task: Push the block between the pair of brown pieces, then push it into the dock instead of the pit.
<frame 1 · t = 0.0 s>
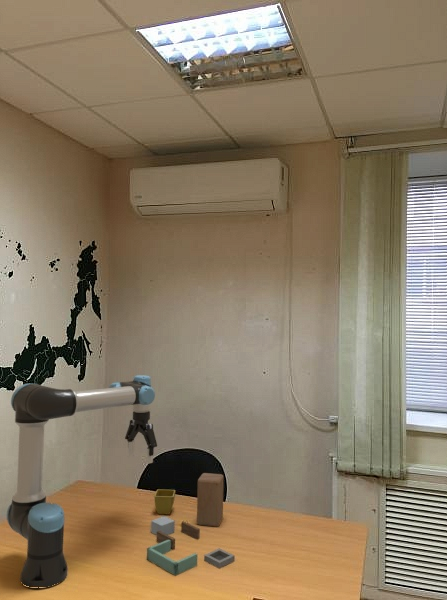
hand: (140, 459, 213), 28 cm above the table, fingers open, 13 cm apart
pair of brown pieces: (178, 540, 197), on the table
dock: (171, 562, 179), on the table
wooden block: (209, 522, 216), on the table
pit: (219, 560, 181), on the table
flower pot: (164, 512, 225), on the table
block: (162, 532, 204), on the table
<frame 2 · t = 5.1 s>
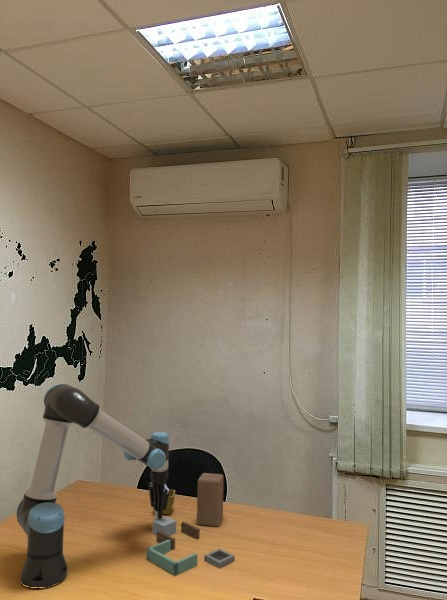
hand: (157, 525, 207), 2 cm above the table, fingers closed
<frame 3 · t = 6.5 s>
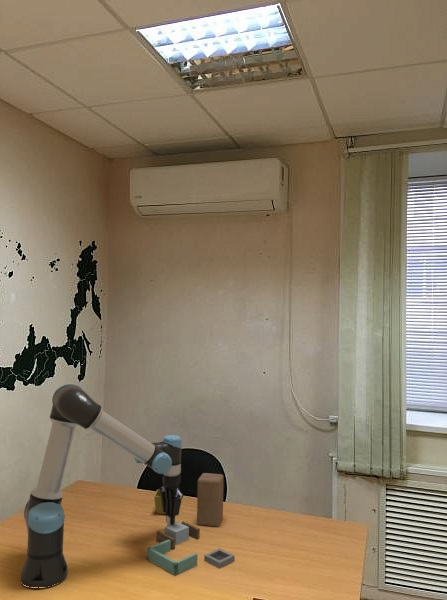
hand: (170, 531, 201), 2 cm above the table, fingers closed
block: (176, 539, 198), on the table
everything else where it was.
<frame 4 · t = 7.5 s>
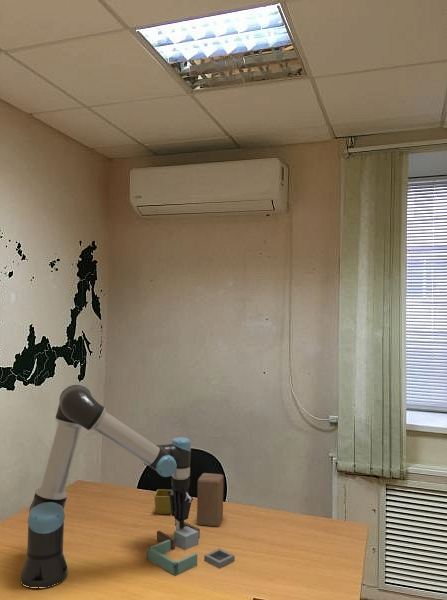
hand: (179, 535, 197), 2 cm above the table, fingers closed
block: (186, 544, 194), on the table, touching gripper
everything else where it was.
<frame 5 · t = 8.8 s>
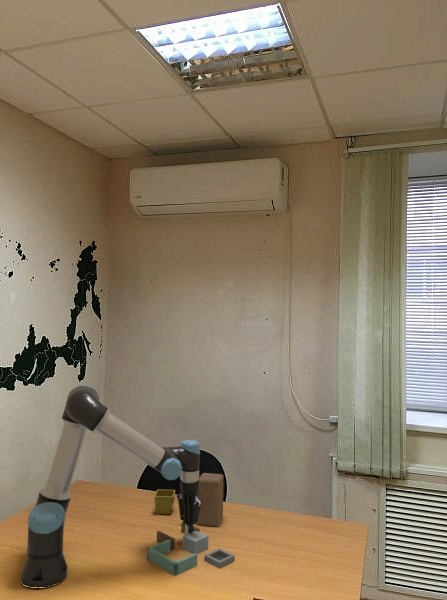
hand: (188, 540, 193), 2 cm above the table, fingers closed
block: (195, 548, 190), on the table
everything else where it was.
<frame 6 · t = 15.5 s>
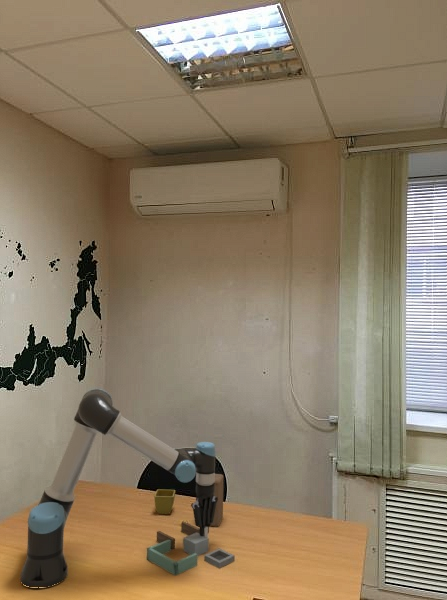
hand: (203, 543, 191), 2 cm above the table, fingers closed
block: (195, 551, 188), on the table
everything else where it was.
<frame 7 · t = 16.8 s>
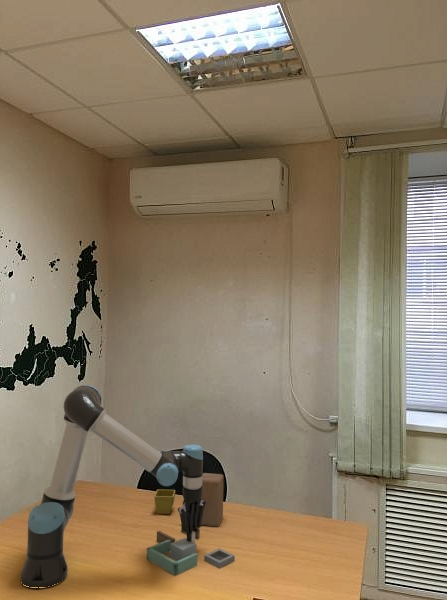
hand: (191, 548, 186), 2 cm above the table, fingers closed
block: (183, 557, 183), on the table, touching gripper
everything else where it was.
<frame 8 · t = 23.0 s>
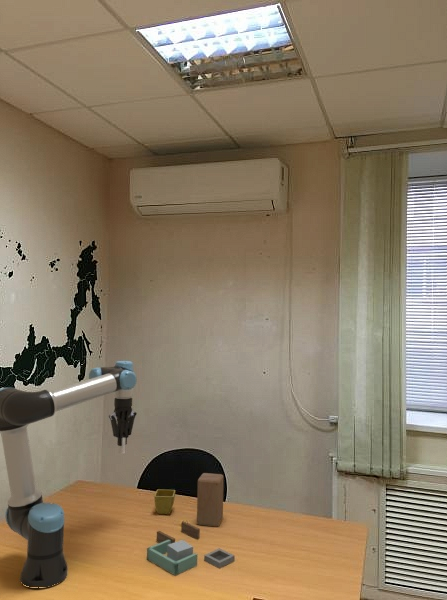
hand: (121, 452, 207), 32 cm above the table, fingers closed
block: (179, 559, 182), on the table
everything else where it was.
at the end: block inside the target area (1.7 cm from its centre), on the table; block tilted 0°; block touching table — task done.
